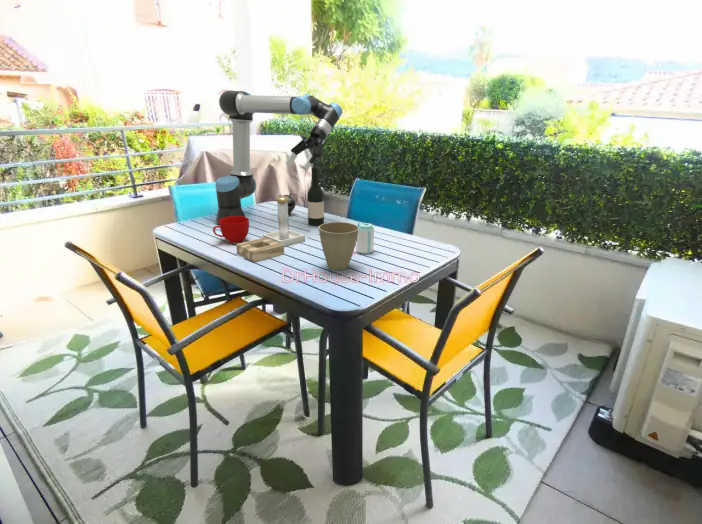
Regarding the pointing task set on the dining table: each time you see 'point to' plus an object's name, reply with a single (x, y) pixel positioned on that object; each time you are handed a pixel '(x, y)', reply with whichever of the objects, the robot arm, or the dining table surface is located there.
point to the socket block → (260, 249)
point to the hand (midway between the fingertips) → (296, 166)
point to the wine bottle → (315, 201)
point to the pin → (283, 217)
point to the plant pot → (338, 243)
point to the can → (365, 238)
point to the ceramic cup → (233, 228)
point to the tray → (293, 239)
